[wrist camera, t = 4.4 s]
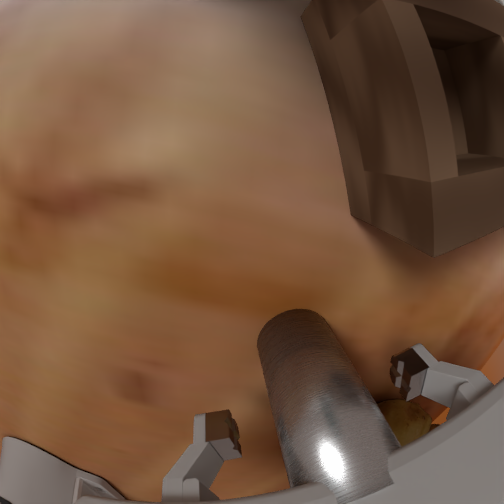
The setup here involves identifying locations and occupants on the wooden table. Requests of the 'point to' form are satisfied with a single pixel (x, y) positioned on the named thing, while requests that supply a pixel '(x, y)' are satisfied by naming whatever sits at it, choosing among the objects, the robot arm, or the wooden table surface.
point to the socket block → (417, 113)
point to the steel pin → (323, 409)
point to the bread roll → (406, 419)
